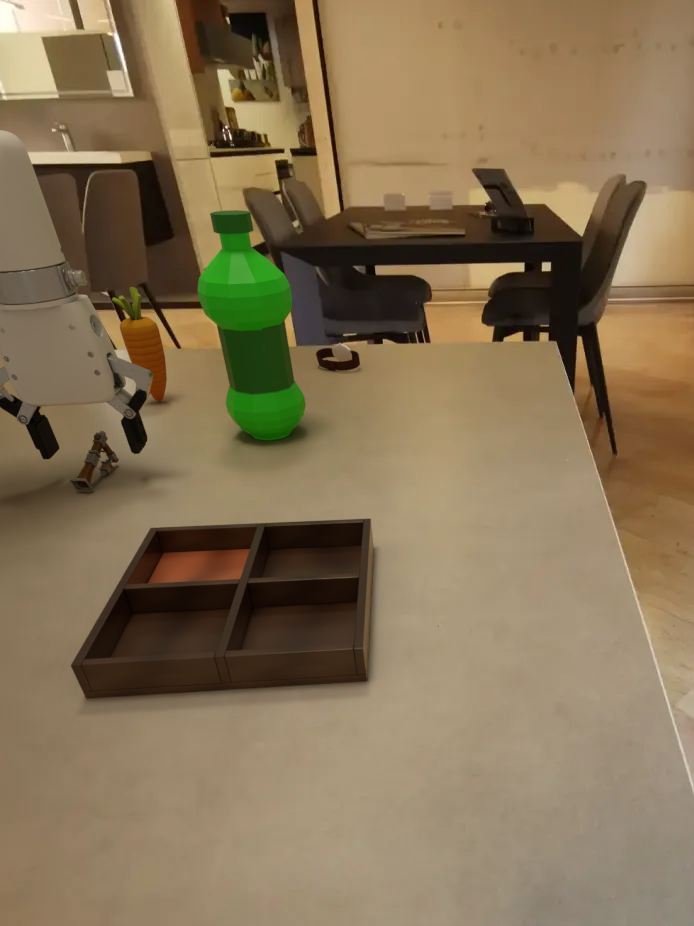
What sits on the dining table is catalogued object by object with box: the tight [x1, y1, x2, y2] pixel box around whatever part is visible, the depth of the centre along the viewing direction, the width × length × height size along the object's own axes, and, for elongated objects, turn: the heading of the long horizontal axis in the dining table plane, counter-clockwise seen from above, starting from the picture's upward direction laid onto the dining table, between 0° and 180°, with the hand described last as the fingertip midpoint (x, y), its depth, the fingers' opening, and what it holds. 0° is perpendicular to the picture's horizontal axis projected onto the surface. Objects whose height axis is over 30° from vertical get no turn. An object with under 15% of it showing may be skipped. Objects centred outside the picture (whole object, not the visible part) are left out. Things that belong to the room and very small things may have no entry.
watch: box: [315, 342, 361, 372], centre depth 115 cm, size 8×5×4 cm, turn 69°
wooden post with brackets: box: [69, 430, 120, 493], centre depth 80 cm, size 2×8×4 cm, turn 176°
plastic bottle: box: [196, 209, 307, 441], centre depth 85 cm, size 10×10×25 cm
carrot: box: [111, 286, 168, 403], centre depth 98 cm, size 5×5×15 cm
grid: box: [70, 518, 375, 699], centre depth 59 cm, size 20×20×3 cm
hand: (96, 451), depth 79 cm, fingers open, 9 cm apart
